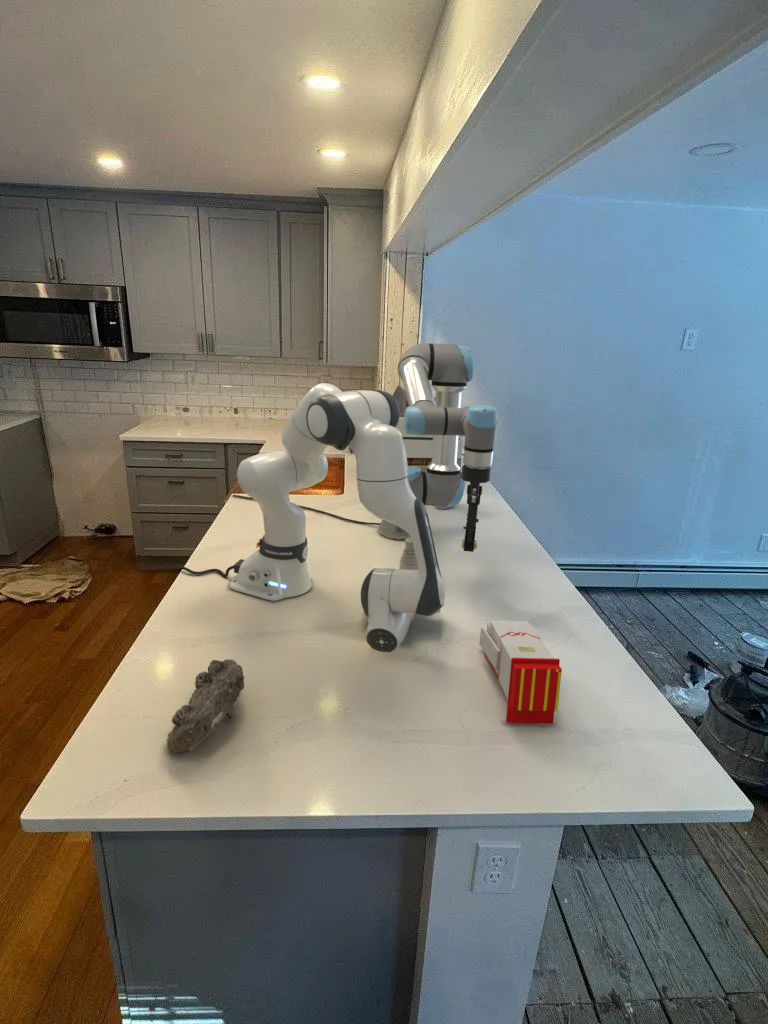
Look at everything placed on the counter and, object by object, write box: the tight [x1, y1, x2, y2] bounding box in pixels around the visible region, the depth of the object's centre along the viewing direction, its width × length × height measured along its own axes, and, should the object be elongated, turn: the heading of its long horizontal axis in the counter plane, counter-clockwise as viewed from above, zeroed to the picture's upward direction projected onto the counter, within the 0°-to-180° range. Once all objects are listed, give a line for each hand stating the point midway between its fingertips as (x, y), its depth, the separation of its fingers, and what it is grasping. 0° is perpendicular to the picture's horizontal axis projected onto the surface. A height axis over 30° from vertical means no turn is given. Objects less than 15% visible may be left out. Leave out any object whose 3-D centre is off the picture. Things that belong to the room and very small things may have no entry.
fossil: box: [166, 658, 245, 754], centre depth 106 cm, size 22×10×15 cm
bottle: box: [398, 538, 419, 570], centre depth 149 cm, size 5×5×19 cm
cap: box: [461, 538, 478, 550], centre depth 156 cm, size 4×4×2 cm
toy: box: [478, 620, 563, 725], centre depth 121 cm, size 12×13×30 cm
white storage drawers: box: [392, 384, 464, 472], centre depth 268 cm, size 34×33×41 cm
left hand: (408, 582), depth 151 cm, fingers closed on bottle, 5 cm apart
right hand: (468, 547), depth 157 cm, fingers closed on cap, 4 cm apart
